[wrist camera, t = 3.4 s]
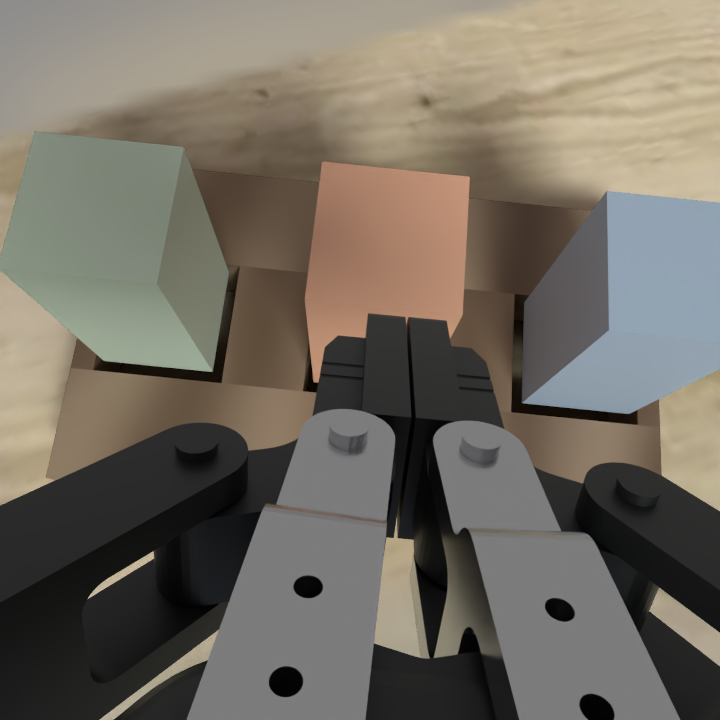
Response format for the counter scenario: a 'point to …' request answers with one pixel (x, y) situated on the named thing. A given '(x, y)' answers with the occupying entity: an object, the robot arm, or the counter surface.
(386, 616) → the counter surface
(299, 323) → the walnut board
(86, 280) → the sage block
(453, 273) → the terracotta block
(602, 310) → the slate block
